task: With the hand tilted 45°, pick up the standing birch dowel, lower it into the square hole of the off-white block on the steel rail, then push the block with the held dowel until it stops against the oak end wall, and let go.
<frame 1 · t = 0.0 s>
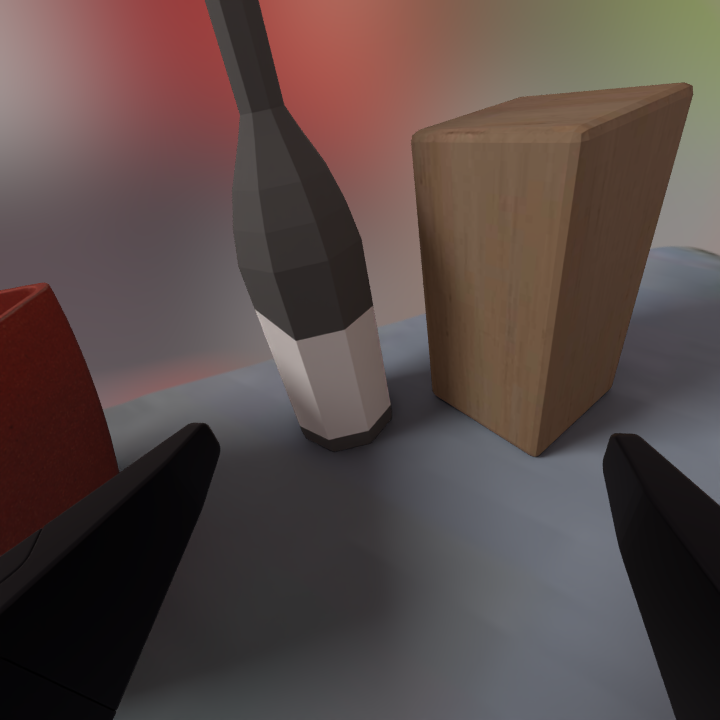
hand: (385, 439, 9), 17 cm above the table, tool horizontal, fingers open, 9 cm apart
wooden block: (517, 393, 32), on the table
plant pot: (1, 600, 26), on the table
wine bottle: (347, 417, 33), on the table
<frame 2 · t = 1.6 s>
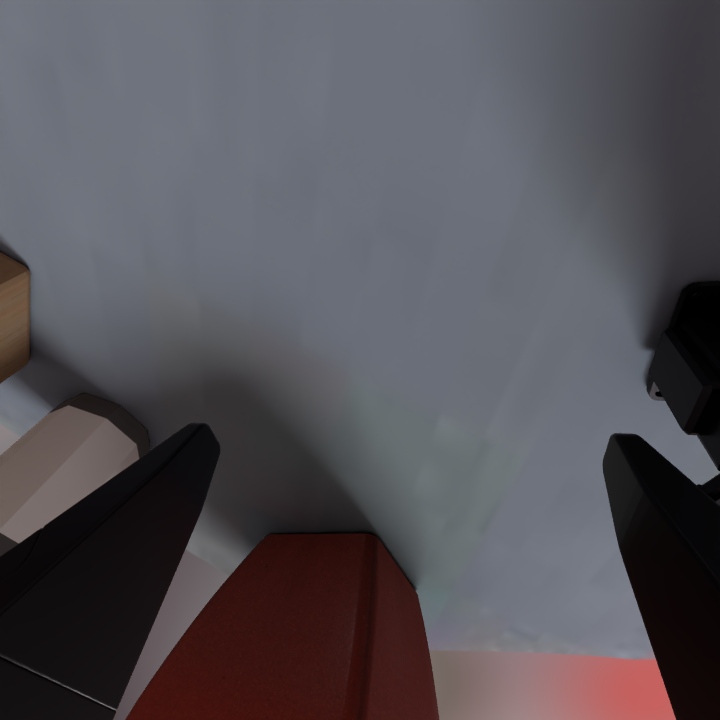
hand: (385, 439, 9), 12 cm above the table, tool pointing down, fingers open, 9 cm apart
plant pot: (342, 562, 41), on the table
wine bottle: (110, 424, 34), on the table
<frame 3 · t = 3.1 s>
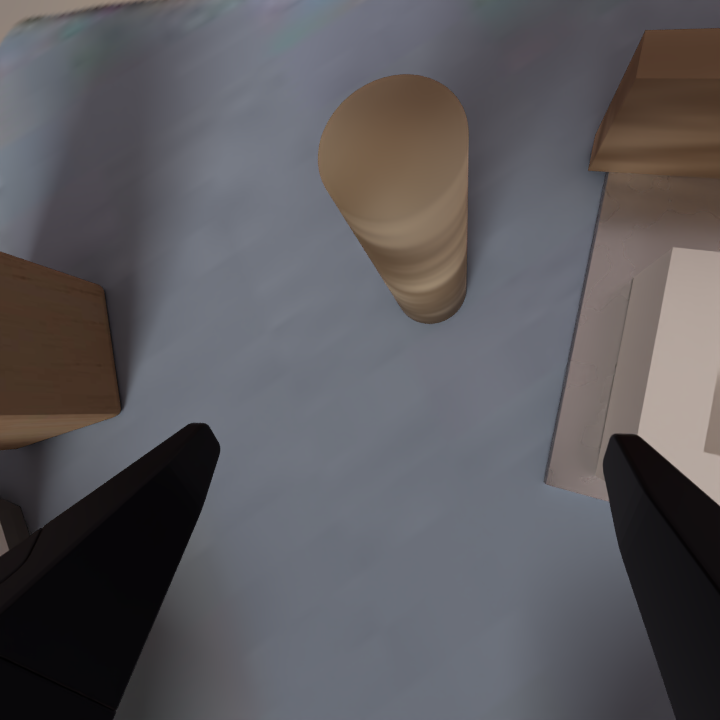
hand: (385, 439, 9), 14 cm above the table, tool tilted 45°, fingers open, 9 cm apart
wooden block: (65, 367, 29), on the table
dowel: (430, 290, 23), on the table
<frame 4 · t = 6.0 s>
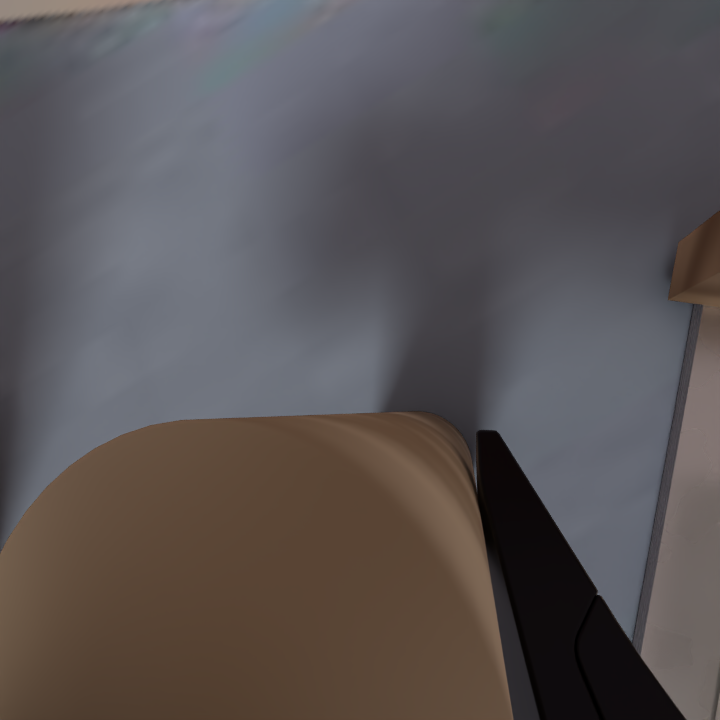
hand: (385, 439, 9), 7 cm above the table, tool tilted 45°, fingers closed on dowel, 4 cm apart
dowel: (418, 463, 15), on the table, touching gripper
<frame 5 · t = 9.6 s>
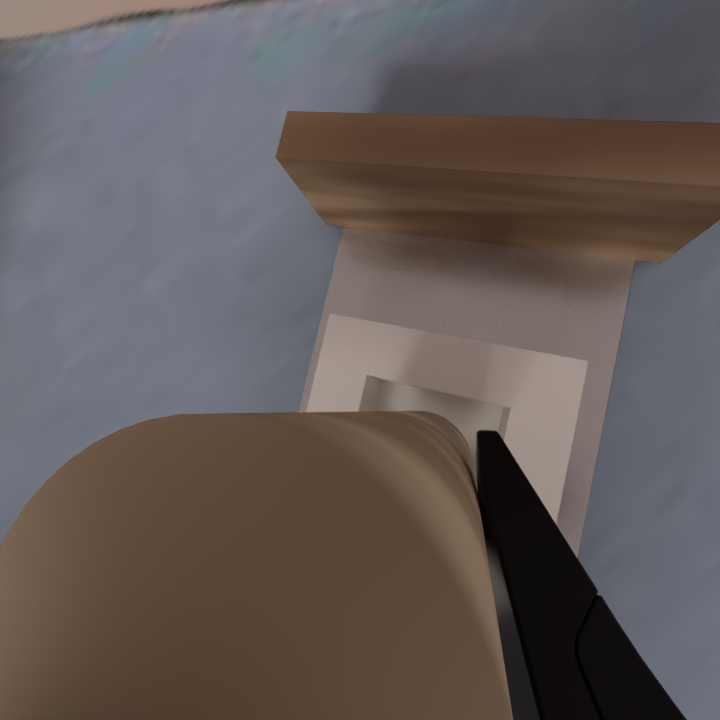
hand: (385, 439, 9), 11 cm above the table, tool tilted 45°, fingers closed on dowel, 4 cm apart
dowel: (418, 463, 15), point 4 cm above the table, touching gripper
socket block: (424, 455, 17), point 3 cm above the table, slide at 0.0 cm
rail base: (443, 385, 19), on the table
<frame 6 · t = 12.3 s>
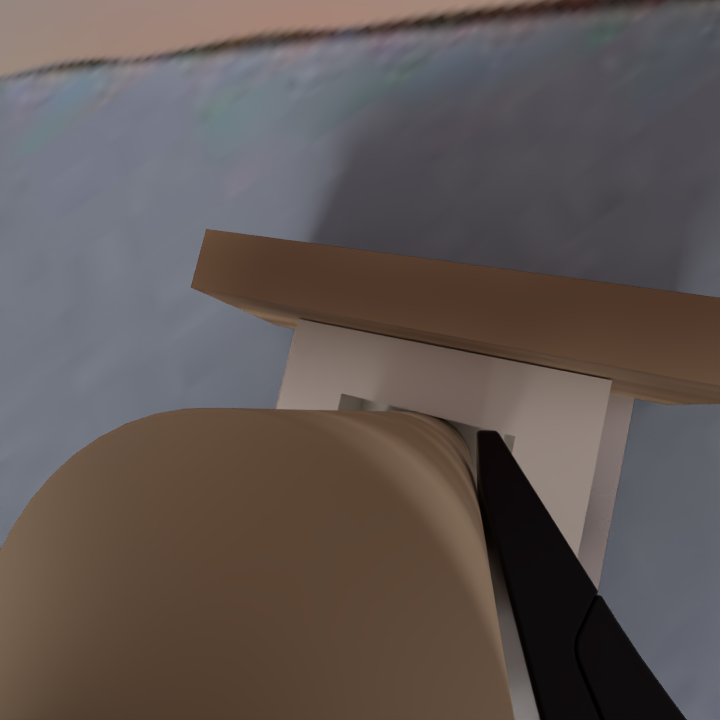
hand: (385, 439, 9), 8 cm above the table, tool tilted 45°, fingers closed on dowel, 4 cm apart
dowel: (418, 464, 15), point 2 cm above the table, touching gripper
socket block: (411, 488, 14), point 3 cm above the table, slide at 5.4 cm
rail base: (407, 528, 16), on the table
when the fingers open (8 cm above the table, at t = 13.1 s): dowel stays where it is, resting on socket block.
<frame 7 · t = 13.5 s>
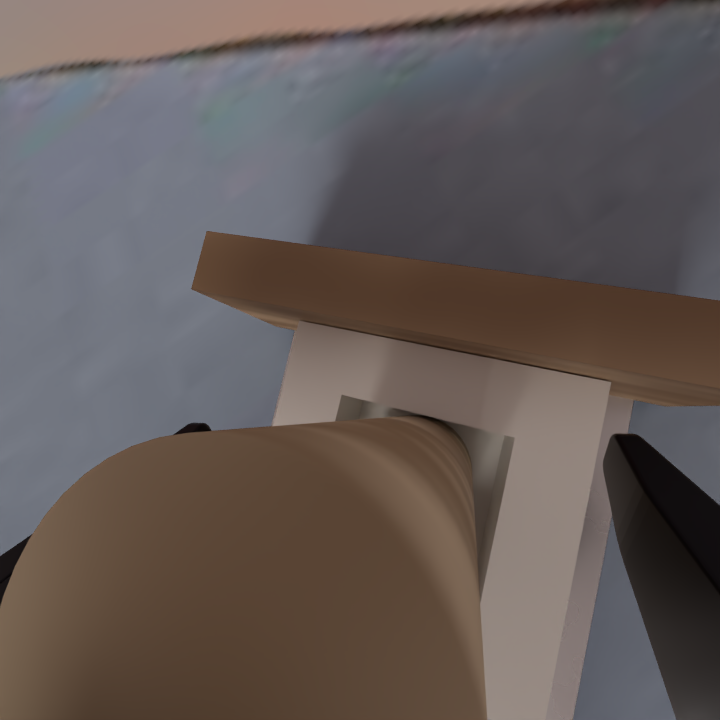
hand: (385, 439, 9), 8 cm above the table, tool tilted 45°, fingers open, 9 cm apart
dowel: (418, 466, 15), point 2 cm above the table, touching socket block
socket block: (411, 490, 14), point 3 cm above the table, slide at 5.5 cm, touching dowel
rail base: (407, 529, 16), on the table
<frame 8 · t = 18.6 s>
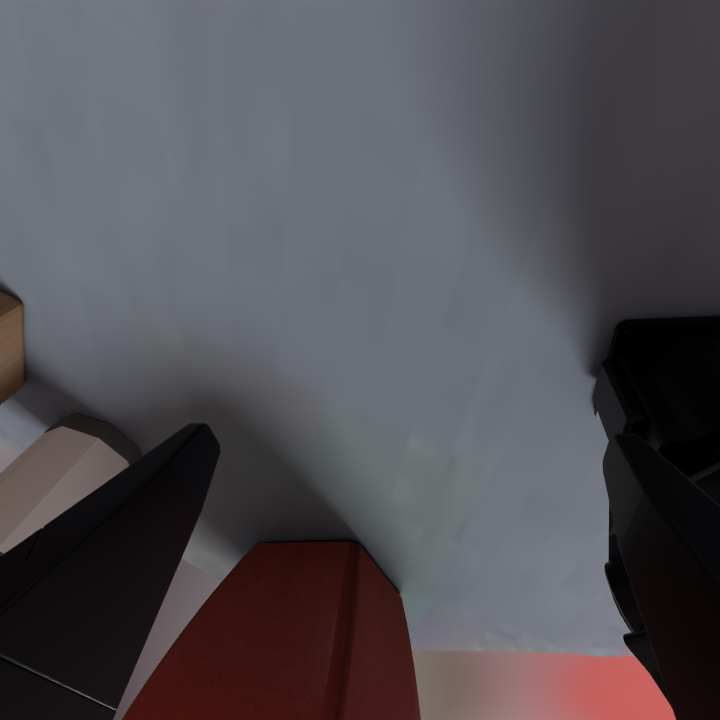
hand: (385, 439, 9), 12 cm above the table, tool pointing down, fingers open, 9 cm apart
plant pot: (329, 568, 43), on the table
wine bottle: (103, 442, 35), on the table
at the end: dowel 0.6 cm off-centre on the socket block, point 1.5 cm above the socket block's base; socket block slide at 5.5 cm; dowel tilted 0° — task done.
